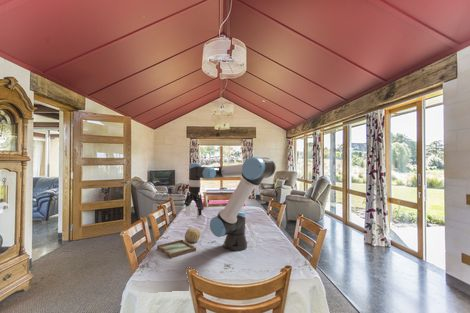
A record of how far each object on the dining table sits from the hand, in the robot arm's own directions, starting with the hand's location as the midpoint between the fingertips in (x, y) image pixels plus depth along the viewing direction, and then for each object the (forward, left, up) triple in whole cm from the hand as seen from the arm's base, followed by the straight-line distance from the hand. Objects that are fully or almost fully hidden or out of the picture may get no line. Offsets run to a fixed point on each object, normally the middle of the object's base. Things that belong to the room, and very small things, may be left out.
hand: (193, 217), depth 159 cm
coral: (0, 0, -16) cm, 16 cm away
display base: (-6, +15, -16) cm, 23 cm away
